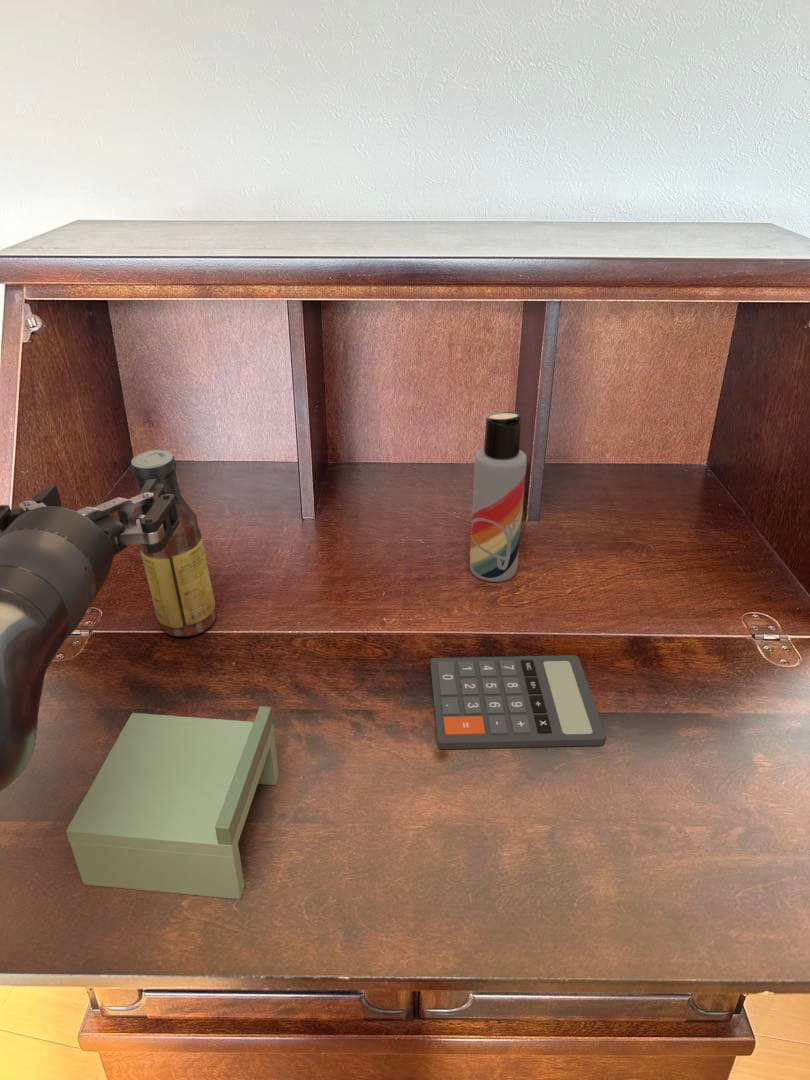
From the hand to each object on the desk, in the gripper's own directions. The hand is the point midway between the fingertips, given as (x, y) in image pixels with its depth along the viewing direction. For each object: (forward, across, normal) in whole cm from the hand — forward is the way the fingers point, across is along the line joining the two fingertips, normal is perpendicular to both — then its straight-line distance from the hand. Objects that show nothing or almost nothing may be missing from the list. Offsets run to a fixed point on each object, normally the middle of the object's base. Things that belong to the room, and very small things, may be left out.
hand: (105, 492), depth 69 cm
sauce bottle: (+11, -2, +20) cm, 23 cm away
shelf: (-16, -6, +23) cm, 29 cm away
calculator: (-3, -35, +23) cm, 42 cm away
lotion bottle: (+20, -36, +21) cm, 46 cm away
